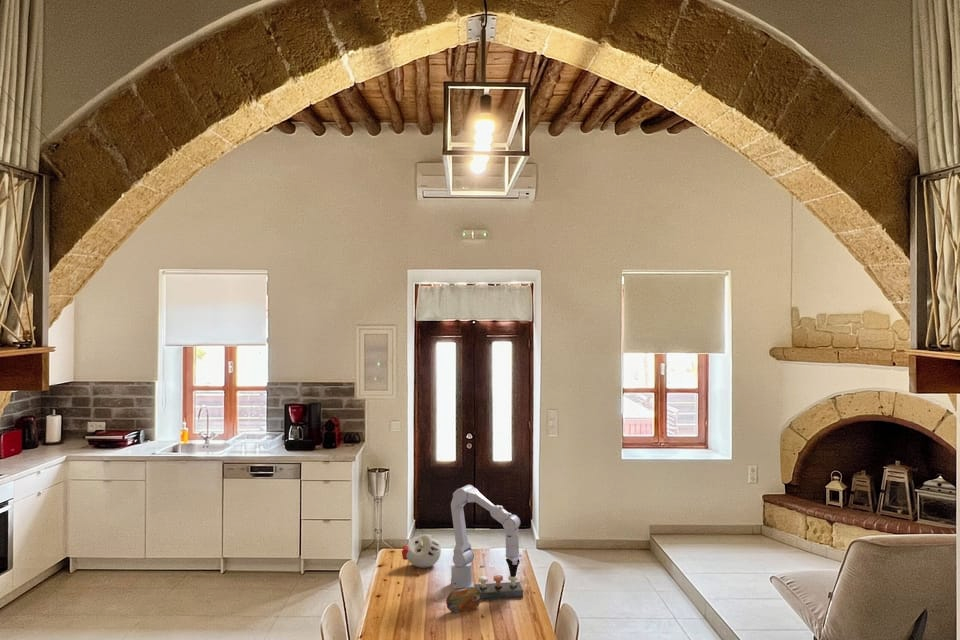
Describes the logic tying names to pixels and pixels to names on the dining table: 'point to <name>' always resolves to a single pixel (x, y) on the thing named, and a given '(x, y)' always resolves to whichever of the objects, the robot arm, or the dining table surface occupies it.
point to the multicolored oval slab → (463, 600)
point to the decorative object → (422, 551)
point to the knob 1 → (483, 581)
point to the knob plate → (500, 591)
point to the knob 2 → (513, 580)
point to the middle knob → (498, 580)
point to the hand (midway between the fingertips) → (513, 576)
